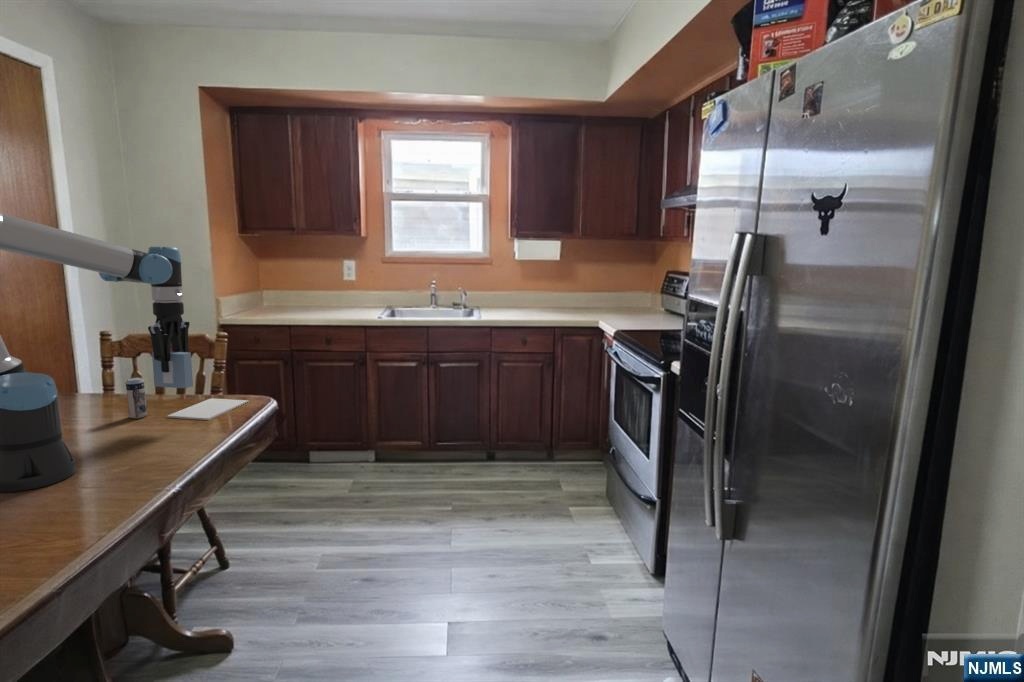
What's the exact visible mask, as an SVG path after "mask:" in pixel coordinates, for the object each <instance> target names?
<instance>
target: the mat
mask: <svg viewBox="0 0 1024 682" xmlns="http://www.w3.org/2000/svg"><path fill="white" fill-rule="evenodd" d="M247 402H248V403H249V402H250V401H249V400H247V399H246V400H245V399H244V400H243V399H229V398H228V399H227V398H212V397H210V398H208V399H206V400H203V401H201V402H199V403H195V404H193V405H190V406H188V407H185V408H183V409H180V410H179V411H176V412H172V413H170V414H168V415H167V416H166V417H167V418H168V419H169V418H171V419H172V418H173V419H182V420H185V419H186V420H200V421H211V420H213V419H214V418H217V417H219V416H222V415H224V414H226V413H228V412H230V411H232V409H233V410H234V408H235V409H237V408H239V407H242V406H243V404H244V405H246V404H248V403H247ZM245 403H246V404H245ZM241 405H242V406H241ZM238 406H239V407H238ZM236 407H237V408H236Z"/></svg>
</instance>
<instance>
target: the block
mask: <svg viewBox="0 0 1024 682" xmlns="http://www.w3.org/2000/svg"><path fill="white" fill-rule="evenodd" d="M151 358H152V373H153V374H152V375H153V383H154V387H156V388H157V387H158V388H173V389H176V388H177V389H189V388H191V387H194V380H193V379H194V378H193V367H192V365H193V363H192V352H189V351H188V352H173V351H170V361H172V363H173V378H174V383H163V372H162V370H161V361H157V360H155V359H154V354H153V352H151Z"/></svg>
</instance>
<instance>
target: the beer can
mask: <svg viewBox="0 0 1024 682" xmlns="http://www.w3.org/2000/svg"><path fill="white" fill-rule="evenodd" d="M125 389H126V396H127V397H126V399H127V408H128V418H130V419H132V420H133V419H135V420H136V419H142V418H145V417H147V415H148V408H147V400H146V399H147V398H146V388H145V380H144V379H143V378H142V377H130V378H127V379H126V382H125Z"/></svg>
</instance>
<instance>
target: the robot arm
mask: <svg viewBox="0 0 1024 682" xmlns="http://www.w3.org/2000/svg"><path fill="white" fill-rule="evenodd" d="M0 251H4V252H9V253H13V254H17V255H22V256H26V257H30V258H35V259H39V260H43V261H48V262H53V263H57V264H61V265H64V266H65V265H66V266H69V267H70V266H71V267H75V268H79V269H83V270H88V271H92V272H95V273H96V272H97V273H98V274H99V277H100V279H102V280H103V281H105V282H115V283H118V282H130V283H138V284H139V283H142V284H149V285H150V288H151V300H152V301H154V302H153V303H152V313H153V315H154V316H155V317H156V318H155V324H154V325H152V326H151V325H149V326H147V329H148V332H149V334H150V340H151V345H152V353H153V354H154V359H155V360H157V361H161V370H162V372H163V383H174V378H173V363H172V361H170V352H171V349H172V352H188V353H189V328H190V325H191V324H190V322H189V321H185V320H183V317H182V315H184V313H185V308H184V307H185V306H184V305H185V304H184V303H183V301H182V300H184V297H183V296H184V295H183V280H182V278H183V277H182V261H181V254H180V250H179V249H178V248H177V247H176V246H149V247H148V251H147V252H145V251H141V250H136V249H134V248H133V249H131V247H130V248H129V247H126V246H124V245H123V246H122V245H118V244H114V243H111V242H108V241H105V240H100V239H98V238H93V237H89V236H86V235H82V234H78V233H75V232H70V231H67V230H63V229H60V228H56V227H54V226H49V225H46V224H42V223H38V222H34V221H31V220H27V219H23V218H20V217H17V216H13V215H10V214H6V213H5V214H4V213H1V212H0ZM55 382H56V381H55V380H54V379H53V377H52V376H50V375H47V374H45V373H42V372H41V373H40V372H37V373H35V372H27V371H26V367H25V366H24V364H23V361H22V360H21V359H20V358H17V357H14V356H12V355H11V354H10V353H9V351H8V349H7V346H6V344H5V342H4V340H3V338H2V335H1V334H0V493H12V492H21V491H28V490H33V489H39V488H42V487H47V486H49V485H53V484H56V483H59V482H61V481H64V480H65V479H66V480H67V478H70V477H71V476H73V475H74V474H75V473H76V472H77V466H76V460H75V458H74V457H73V455H72V454H71V451H70V450H69V448H68V446H67V445H66V443H65V441H64V438H63V432H62V425H61V417H60V410H59V409H60V408H59V401H58V392H59V391H58V388H57V387H56V383H55Z"/></svg>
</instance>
